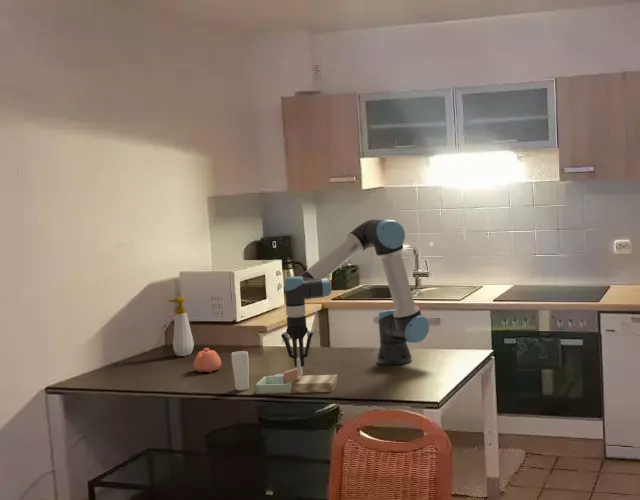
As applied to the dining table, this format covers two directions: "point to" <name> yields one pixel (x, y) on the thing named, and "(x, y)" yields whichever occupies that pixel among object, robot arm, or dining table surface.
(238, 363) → the drinking glass
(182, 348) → the soap bottle
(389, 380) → the dining table surface
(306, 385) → the board
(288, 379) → the salmon pink block
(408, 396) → the dining table surface
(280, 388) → the tray
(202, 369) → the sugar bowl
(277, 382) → the tile grey
